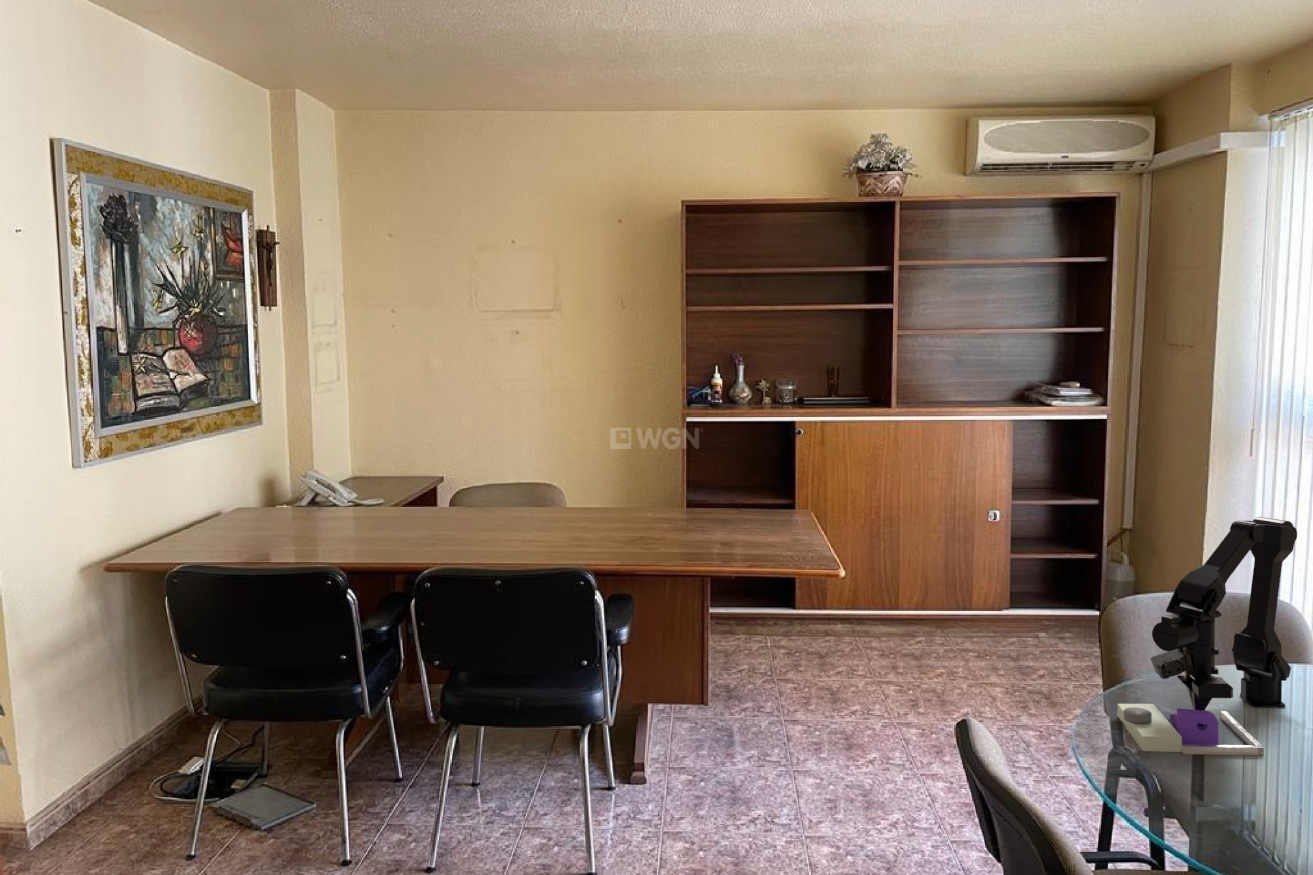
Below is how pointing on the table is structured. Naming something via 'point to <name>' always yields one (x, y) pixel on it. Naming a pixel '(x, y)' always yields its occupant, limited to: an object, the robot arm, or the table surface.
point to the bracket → (1196, 726)
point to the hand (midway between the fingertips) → (1198, 714)
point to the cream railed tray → (1162, 736)
